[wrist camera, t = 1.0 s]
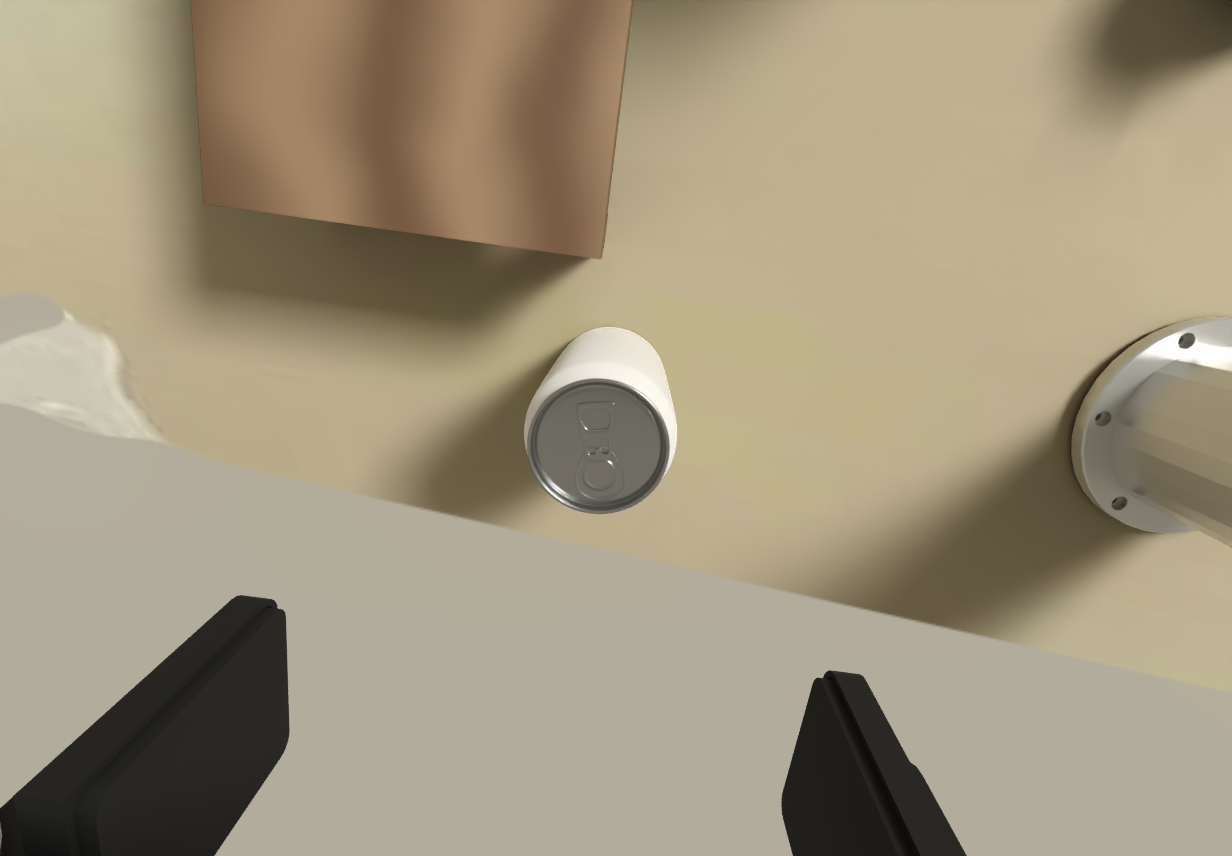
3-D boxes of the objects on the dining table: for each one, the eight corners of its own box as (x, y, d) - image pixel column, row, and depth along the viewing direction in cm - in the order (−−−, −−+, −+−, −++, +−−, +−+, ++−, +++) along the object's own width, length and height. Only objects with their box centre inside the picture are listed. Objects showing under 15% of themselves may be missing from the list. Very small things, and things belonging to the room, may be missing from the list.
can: (558, 436, 36) (523, 526, 25) (550, 327, 34) (508, 370, 23) (666, 432, 36) (681, 522, 25) (664, 323, 34) (680, 364, 23)
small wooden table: (652, -98, 28) (660, -245, 20) (608, 254, 33) (599, 259, 25) (311, -148, 28) (170, -319, 20) (316, 213, 33) (203, 203, 24)
